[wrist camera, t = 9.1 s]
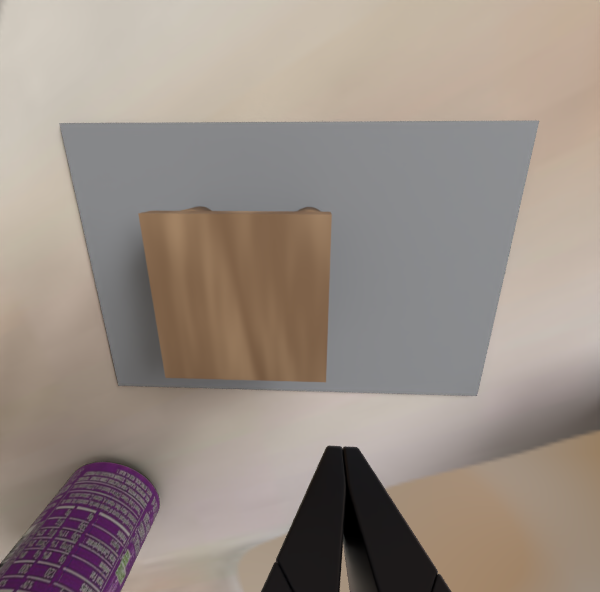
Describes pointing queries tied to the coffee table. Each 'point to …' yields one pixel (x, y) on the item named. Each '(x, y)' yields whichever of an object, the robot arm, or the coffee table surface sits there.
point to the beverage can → (85, 534)
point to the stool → (240, 292)
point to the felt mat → (344, 234)
